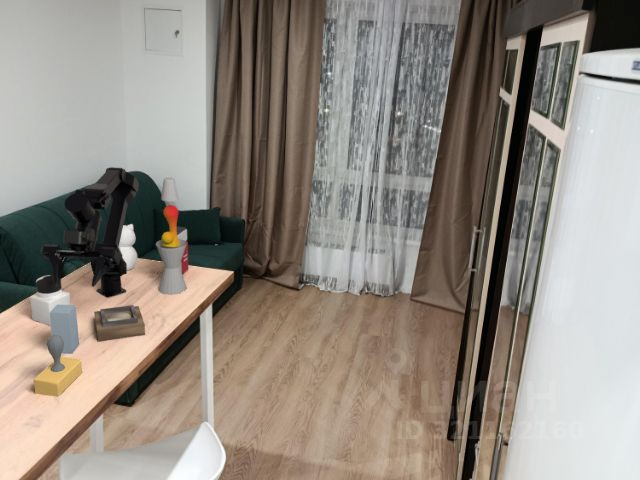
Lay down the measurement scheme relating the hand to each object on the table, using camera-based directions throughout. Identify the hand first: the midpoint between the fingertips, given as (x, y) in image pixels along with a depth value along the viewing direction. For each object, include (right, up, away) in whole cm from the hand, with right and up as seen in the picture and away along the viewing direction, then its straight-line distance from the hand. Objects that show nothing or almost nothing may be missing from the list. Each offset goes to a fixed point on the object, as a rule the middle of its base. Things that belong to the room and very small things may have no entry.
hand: (74, 285), depth 151 cm
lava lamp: (+17, -4, +33) cm, 37 cm away
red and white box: (+16, 0, +43) cm, 46 cm away
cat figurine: (-3, +2, +46) cm, 46 cm away
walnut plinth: (+9, -12, +8) cm, 17 cm away
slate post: (-1, -15, -3) cm, 16 cm away
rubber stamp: (+4, -21, -17) cm, 27 cm away
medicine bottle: (-11, -10, +11) cm, 19 cm away
